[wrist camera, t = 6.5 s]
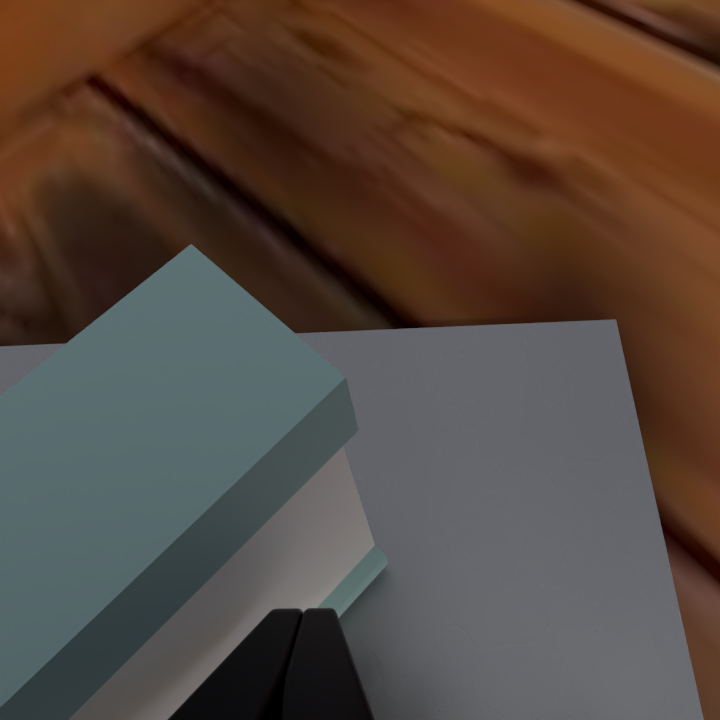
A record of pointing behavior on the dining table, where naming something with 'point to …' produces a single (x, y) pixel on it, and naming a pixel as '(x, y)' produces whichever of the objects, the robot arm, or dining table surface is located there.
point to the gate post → (502, 526)
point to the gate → (168, 499)
